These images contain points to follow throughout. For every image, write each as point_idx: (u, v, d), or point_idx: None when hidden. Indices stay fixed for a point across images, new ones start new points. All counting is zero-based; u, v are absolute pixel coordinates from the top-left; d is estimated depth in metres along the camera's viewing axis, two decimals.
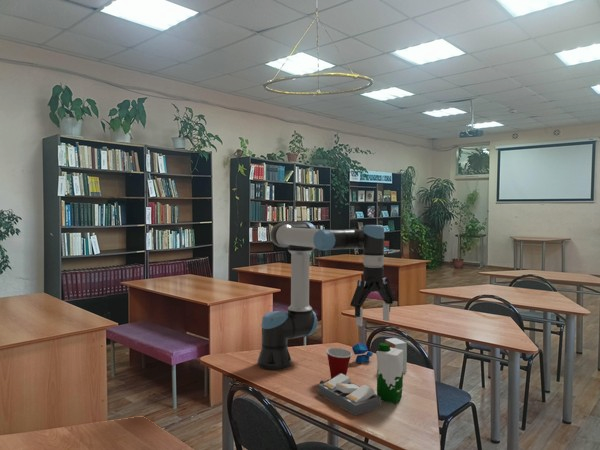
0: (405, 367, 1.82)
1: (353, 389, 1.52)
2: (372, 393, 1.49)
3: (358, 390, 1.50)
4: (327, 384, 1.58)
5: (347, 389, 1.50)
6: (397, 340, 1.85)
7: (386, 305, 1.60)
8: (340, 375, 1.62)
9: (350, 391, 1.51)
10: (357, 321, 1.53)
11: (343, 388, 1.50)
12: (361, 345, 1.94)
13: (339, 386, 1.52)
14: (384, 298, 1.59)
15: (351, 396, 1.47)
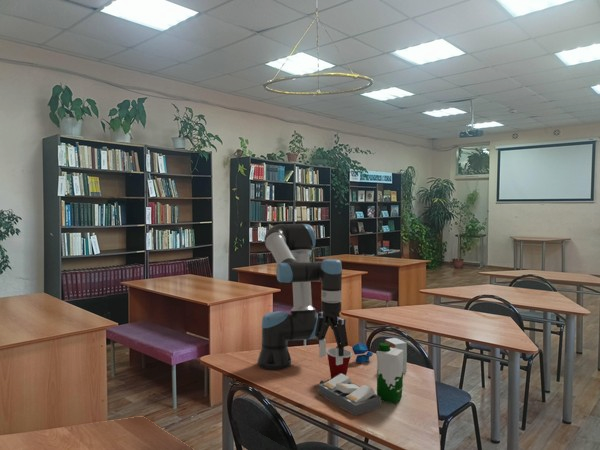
0: (405, 367, 1.82)
1: (353, 389, 1.52)
2: (372, 393, 1.49)
3: (358, 390, 1.50)
4: (327, 384, 1.58)
5: (347, 389, 1.50)
6: (397, 340, 1.85)
7: None
8: (340, 375, 1.62)
9: (350, 391, 1.51)
10: None
11: (343, 388, 1.50)
12: (361, 345, 1.94)
13: (339, 386, 1.52)
14: None
15: (351, 396, 1.47)
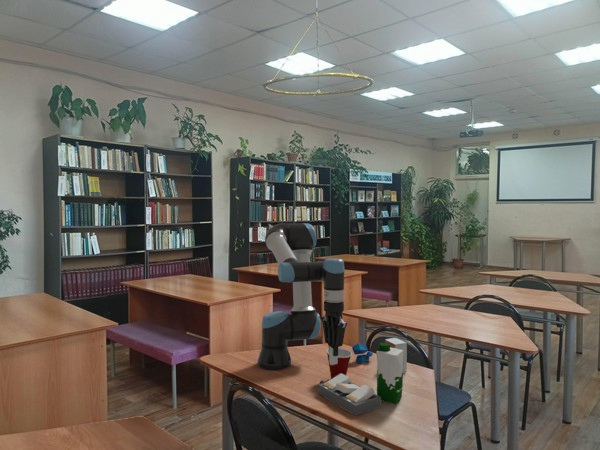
0: (405, 367, 1.82)
1: (353, 389, 1.52)
2: (372, 393, 1.49)
3: (358, 390, 1.50)
4: (327, 384, 1.58)
5: (347, 389, 1.50)
6: (397, 340, 1.85)
7: None
8: (340, 375, 1.62)
9: (350, 391, 1.51)
10: None
11: (343, 388, 1.50)
12: (361, 345, 1.94)
13: (339, 386, 1.52)
14: None
15: (351, 396, 1.47)
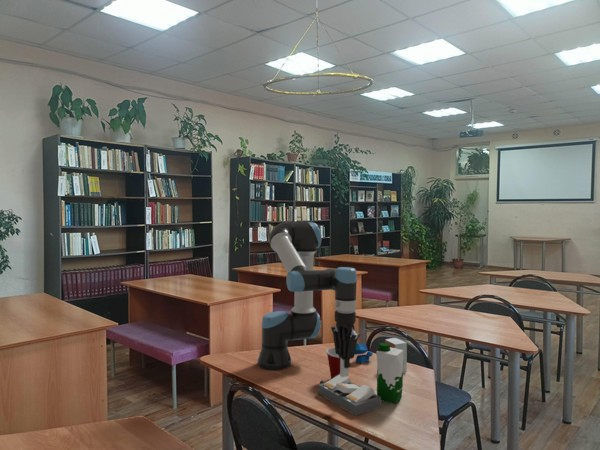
0: (405, 367, 1.82)
1: (353, 389, 1.52)
2: (372, 393, 1.49)
3: (358, 390, 1.50)
4: (327, 384, 1.58)
5: (347, 389, 1.50)
6: (397, 340, 1.85)
7: None
8: None
9: (350, 391, 1.51)
10: None
11: (343, 388, 1.50)
12: (361, 345, 1.94)
13: (339, 386, 1.52)
14: None
15: (351, 396, 1.47)
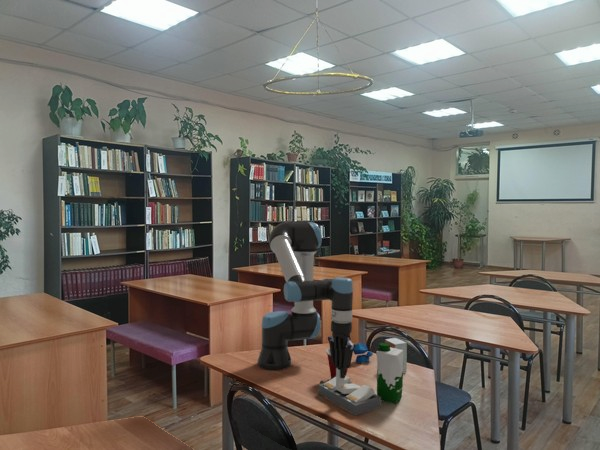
0: (405, 367, 1.82)
1: (353, 389, 1.52)
2: (372, 393, 1.49)
3: (358, 390, 1.50)
4: (327, 384, 1.58)
5: (347, 390, 1.50)
6: (397, 340, 1.85)
7: None
8: None
9: (350, 391, 1.51)
10: None
11: (343, 389, 1.50)
12: (361, 345, 1.94)
13: (339, 387, 1.52)
14: None
15: (351, 396, 1.47)
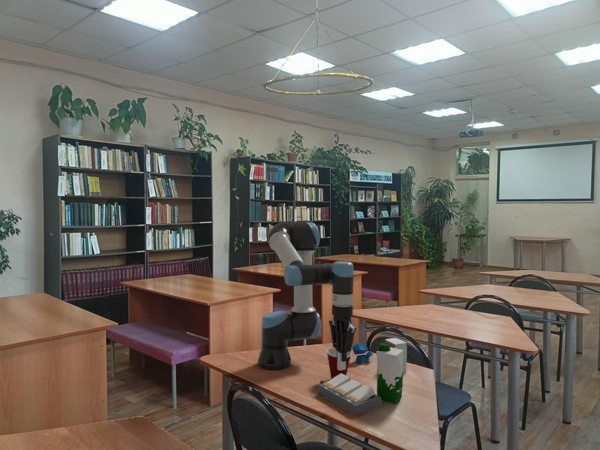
0: (405, 367, 1.82)
1: (352, 390, 1.52)
2: (372, 393, 1.49)
3: (358, 390, 1.50)
4: (327, 384, 1.58)
5: (346, 393, 1.50)
6: (397, 340, 1.85)
7: None
8: (340, 375, 1.62)
9: (349, 393, 1.51)
10: None
11: (342, 394, 1.50)
12: (361, 345, 1.94)
13: (338, 392, 1.52)
14: None
15: (351, 396, 1.47)
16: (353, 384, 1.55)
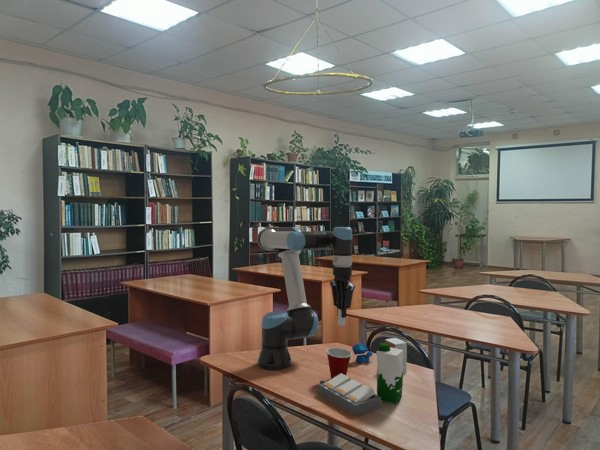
0: (405, 367, 1.82)
1: (352, 390, 1.52)
2: (372, 393, 1.49)
3: (358, 390, 1.50)
4: (327, 384, 1.58)
5: (346, 393, 1.50)
6: (397, 340, 1.85)
7: None
8: (340, 375, 1.62)
9: (349, 393, 1.51)
10: None
11: (342, 394, 1.50)
12: (361, 345, 1.94)
13: (338, 392, 1.52)
14: None
15: (351, 396, 1.47)
16: (353, 384, 1.55)
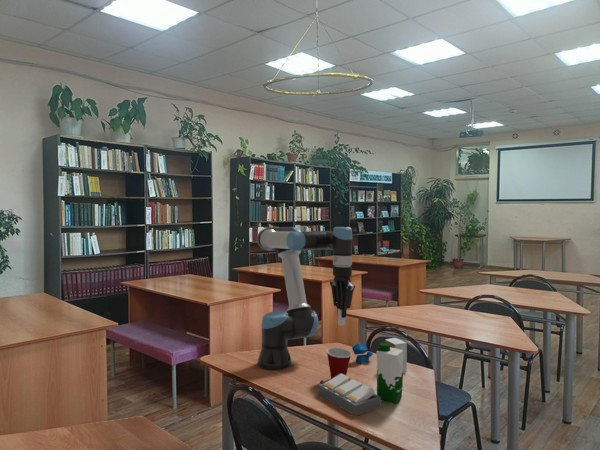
0: (405, 367, 1.82)
1: (352, 390, 1.52)
2: (372, 393, 1.49)
3: (358, 390, 1.50)
4: (327, 384, 1.58)
5: (346, 393, 1.50)
6: (397, 340, 1.85)
7: None
8: (340, 375, 1.62)
9: (349, 393, 1.51)
10: None
11: (342, 394, 1.50)
12: (361, 345, 1.94)
13: (338, 392, 1.52)
14: None
15: (351, 396, 1.47)
16: (353, 384, 1.55)
